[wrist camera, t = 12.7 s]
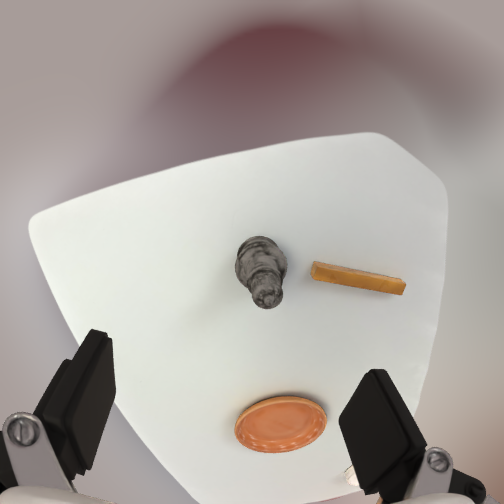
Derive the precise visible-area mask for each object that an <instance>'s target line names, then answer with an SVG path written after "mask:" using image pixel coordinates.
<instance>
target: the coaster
mask: <svg viewBox="0 0 504 504" xmlns="http://www.w3.org/2000/svg"><path fill="white" fill-rule="evenodd" d="M345 476H346V479H347V483H348V484H349V485H354V486H355V485H359V483H358V480H357V477H356V474H355V471H354V468H353V465H352V466H351V467H350V468H348V469H347V471H346V472H345Z"/></svg>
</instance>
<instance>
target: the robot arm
mask: <svg viewBox="0 0 504 504" xmlns="http://www.w3.org/2000/svg"><path fill="white" fill-rule="evenodd" d="M115 395H116V385H115V374H114V362H113V345H112V338H109V337H108V335H107V333H106V332H102V331H98V330H94V329H91V330H90V331H89V333H88V334H87V336H86V338H85V339H84V341H83V342H82V344H81V346H80V347H79V349H78V351H77V353H76V354H75V356H74V358H73V359H72V360H69V359H66V360H64V361H63V362H62V364H61V365H60V367H59V369H58V370H57V372H56V374H55V375H54V377H53V379H52V380H51V382H50V384H49V386H48V387H47V389H46V391H45V393H44V394H43V396H42V398H41V400H40V402H39V403H38V405H37V407H36V409H35V411H34V413H33V414H31V413H26V412H17V413H14V414H12V415H10V416H9V417H8V418H7V419H6V420H5V422H4V424H3V428H2V431H0V504H117V503H113V502H109V501H105V500H101V499H97V498H94V497H90V496H86V495H83V494H79V493H78V492H77V490H76V488H75V487H74V484H73V483H72V481H71V480H74V479H75V475H76V473H77V474H80V475H83V476H84V474H85V471H86V469H87V470H91V468H92V465H93V461H94V458H95V455H96V452H97V449H98V446H99V443H100V440H101V436H102V433H103V430H104V427H105V424H106V422H107V419H108V416H109V413H110V410H111V407H112V404H113V402H114V399H115ZM339 426H340V429H341V431H342V434H343V437H344V440H345V443H346V446H347V449H348V452H349V455H350V458H351V461H352V464H353V468H354V471H355V474H356V477H357V480H358V483H359V486H360V488H361V489H363V490H364V492H365V495H370V494H375V493H377V492H379V494H380V497H379V499H378V501H377V504H500V503H499V502H497V501H496V500H495V499H494V498H492V497H491V496H490V495H487V496H486V489H485V487H484V485H483V484H482V483H481V481H479V480H478V479H475V478H473V477H471V476H469V475H466V474H464V473H462V472H460V471H458V470H455V469H453V460H452V458H451V456H450V454H449V453H447V451H445V450H443V449H442V448H438V447H432V448H430V449H428V450H427V451H426V450H425V447H426V446H427V443H426V441H425V439H424V437H423V435H422V433H421V432H420V430H419V428H418V426H417V424H416V422H415V421H414V419H413V417H412V415H411V413H410V411H409V410H408V408H407V406H406V404H405V403H404V401H403V399H402V397H401V395H400V394H399V392H398V390H397V388H396V387H395V385H394V383H393V382H392V380H391V378H390V376H389V375H388V373H387V371H386V370H384V369H371V370H369V372H368V373H366V374H365V375H364V376H363V378H362V380H361V382H360V383H359V385H358V387H357V389H356V390H355V392H354V394H353V395H352V397H351V399H350V400H349V402H348V403H347V405H346V407H345V408H344V410H343V411H342V413H341V415H340V417H339Z"/></svg>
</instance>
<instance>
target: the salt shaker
mask: <svg viewBox="0 0 504 504" xmlns="http://www.w3.org/2000/svg"><path fill="white" fill-rule="evenodd" d="M235 272H236V275H237V278H238V280H239V281H240V283H241V284H243V285H244V286H245V287H246V288H248V290H249V291H250V293H252V298H253V301H254V302H255V304H256V305H257V306H258V307H260V308H263V309H271V308H274V307H276V306H277V305H279V304H280V302H281V301H282V298H283V291H282V283H283V279H284V277H285V275H286V272H287V261H286V257H285V256H284V254H283V252H282V251H281V250H280V249H279V248H278V246H277V245H276V243H275V242H274V241H273V240H271V239H269V238H267V237H263V236H256V237H252V238H249V239H248V240H246V241H245V242H244V243H243V244H242V245H241V246H240V248H239V250H238V254H237V260H236V264H235Z"/></svg>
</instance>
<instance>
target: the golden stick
mask: <svg viewBox="0 0 504 504" xmlns="http://www.w3.org/2000/svg"><path fill="white" fill-rule="evenodd" d="M310 274H311V276H312V278H313V279H314V280H319V281H325V282H330V283H336V284H341V285H347V286H352V287H358V288H363V289H369V290H374V291H380V292H386V293H391V294H397V295H402V294H403V291H404V289H405V287H406V284H405V283H404V282H403V281H402V280H401V279H397V278H392V277H388V276H383V275H378V274H373V273H368V272H364V271H359V270H354V269H349V268H344V267H339V266H335V265H330V264H325V263H320V262H315V261H314V264H313V267H312V270H311V273H310Z"/></svg>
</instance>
